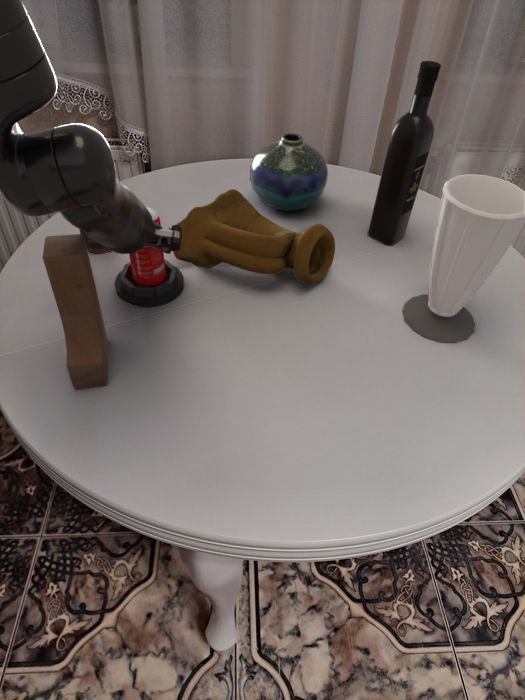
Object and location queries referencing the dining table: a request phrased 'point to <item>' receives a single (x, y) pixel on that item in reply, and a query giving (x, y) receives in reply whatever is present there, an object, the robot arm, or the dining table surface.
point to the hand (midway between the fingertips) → (148, 245)
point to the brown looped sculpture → (253, 241)
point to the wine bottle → (405, 162)
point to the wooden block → (78, 309)
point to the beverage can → (148, 262)
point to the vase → (288, 174)
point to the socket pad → (150, 300)
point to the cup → (465, 252)
